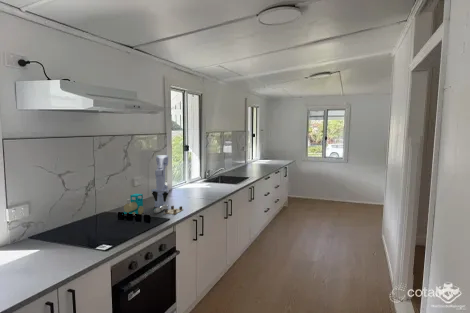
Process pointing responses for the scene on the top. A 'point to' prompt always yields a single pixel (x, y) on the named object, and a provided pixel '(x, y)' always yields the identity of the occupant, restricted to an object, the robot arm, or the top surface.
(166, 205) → the tube
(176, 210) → the collar board
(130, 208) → the toy train
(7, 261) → the top surface
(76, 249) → the top surface
